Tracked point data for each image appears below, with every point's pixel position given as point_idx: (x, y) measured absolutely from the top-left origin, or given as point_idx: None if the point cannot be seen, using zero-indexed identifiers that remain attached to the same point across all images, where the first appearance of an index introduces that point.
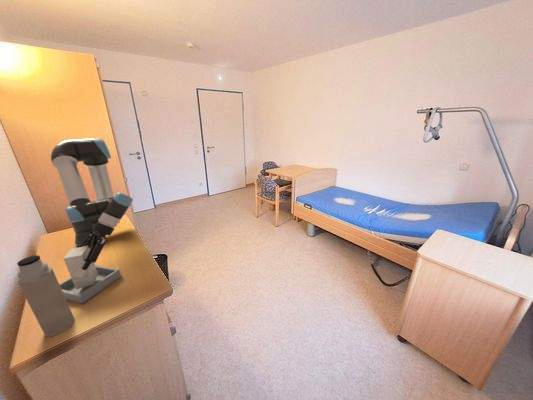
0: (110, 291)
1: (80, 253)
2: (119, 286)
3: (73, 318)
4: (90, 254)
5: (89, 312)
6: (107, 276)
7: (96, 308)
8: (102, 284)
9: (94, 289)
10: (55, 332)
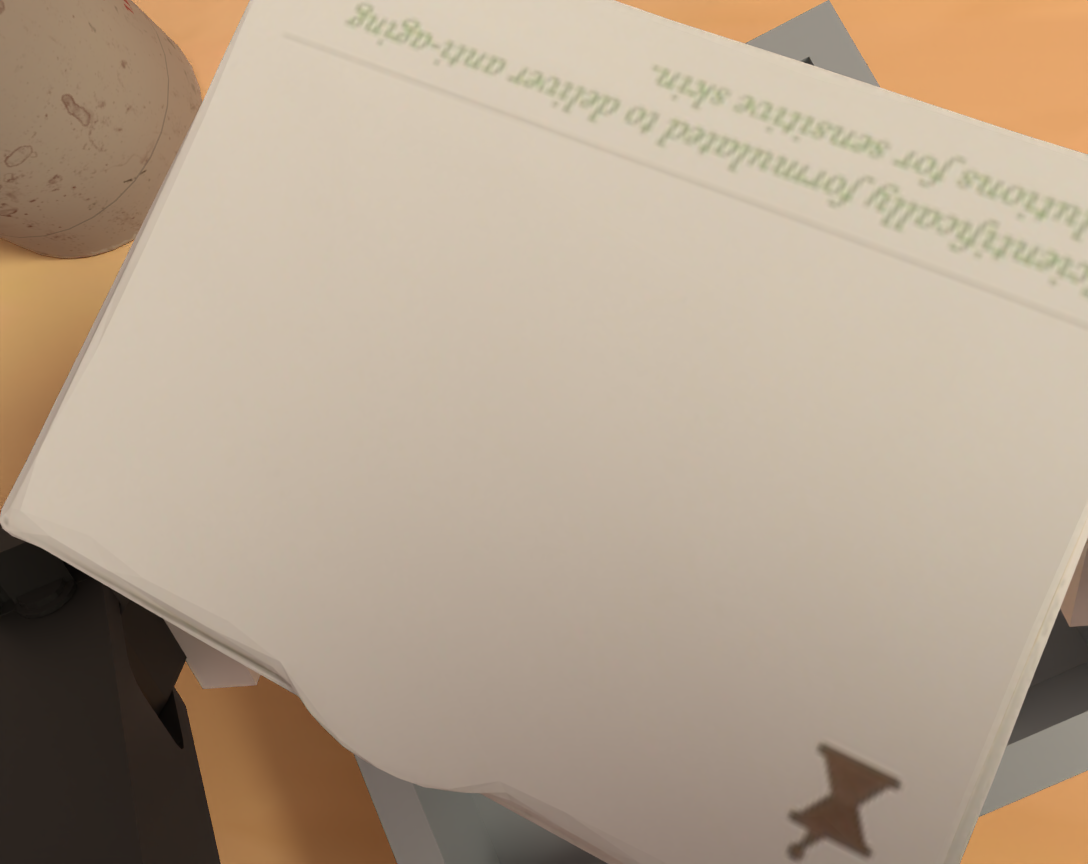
0: (254, 697)
1: (169, 495)
2: (265, 832)
3: (24, 245)
4: (10, 796)
5: (47, 400)
6: (397, 788)
7: None
8: None
9: None
10: None
